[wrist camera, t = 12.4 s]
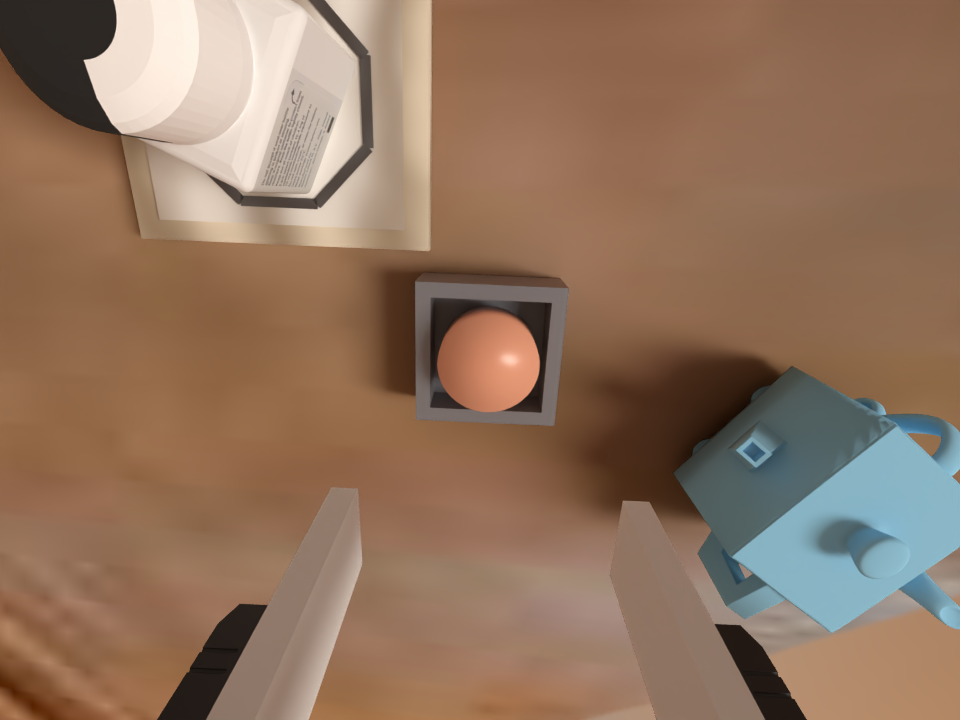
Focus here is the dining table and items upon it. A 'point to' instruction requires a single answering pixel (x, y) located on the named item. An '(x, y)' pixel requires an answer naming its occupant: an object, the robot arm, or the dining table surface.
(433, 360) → the button box
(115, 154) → the dining table surface
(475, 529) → the dining table surface
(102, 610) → the dining table surface
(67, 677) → the dining table surface
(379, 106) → the drawing board
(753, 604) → the teapot
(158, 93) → the container
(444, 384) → the button
